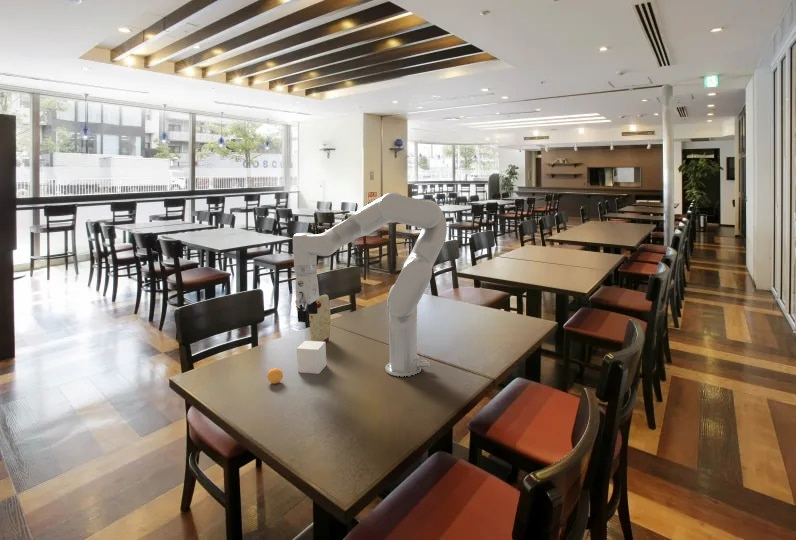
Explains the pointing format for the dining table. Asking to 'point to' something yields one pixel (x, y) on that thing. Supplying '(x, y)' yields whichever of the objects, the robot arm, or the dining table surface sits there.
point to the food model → (321, 320)
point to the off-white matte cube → (311, 357)
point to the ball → (275, 375)
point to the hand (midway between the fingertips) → (308, 317)
